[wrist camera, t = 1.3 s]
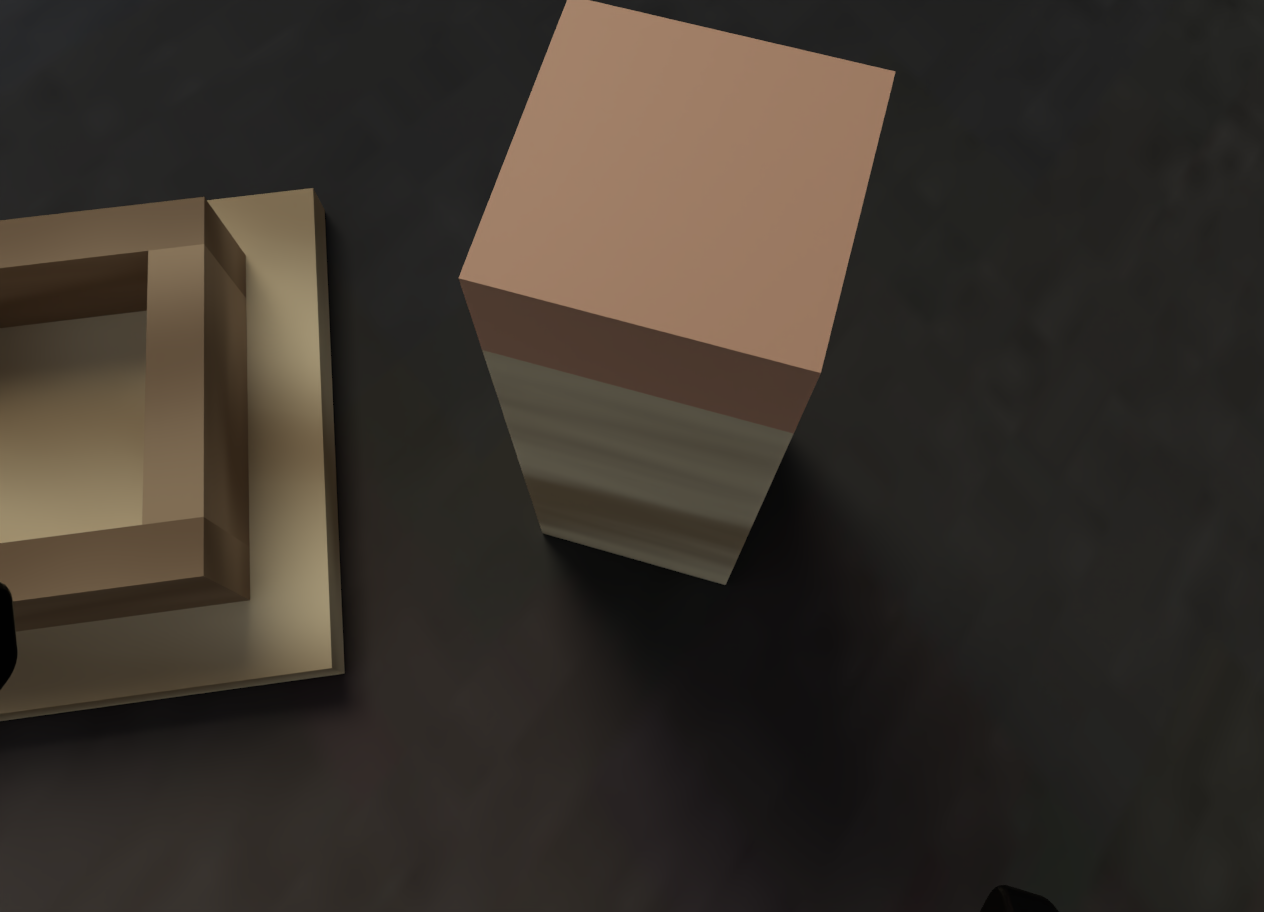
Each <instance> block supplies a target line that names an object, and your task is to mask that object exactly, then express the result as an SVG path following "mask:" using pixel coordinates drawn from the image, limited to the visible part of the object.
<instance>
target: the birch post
mask: <svg viewBox="0 0 1264 912" xmlns="http://www.w3.org/2000/svg"><path fill="white" fill-rule="evenodd" d="M894 75H895V71H890V70H886V69H882V68H877V67H873V66H869V65H865V64H860V63H856V62H852V61H847V60H843V59H839V58H835V57H830V56H826V55H822V54H817V53H813V52H809V51H804V50H800V49H796V48H792V47H787V46H783V45H779V44H774V43H770V42H766V41H762V40H757V39H753V38H749V37H744V36H740V35H736V34H731V33H727V32H723V31H719V30H714V29H710V28H706V27H701V26H697V25H693V24H688V23H684V22H680V21H676V20H671V19H667V18H663V17H658V16H654V15H650V14H646V13H641V12H637V11H633V10H628V9H624V8H620V7H615V6H611V5H607V4H603V3H598V2H594V1H590V0H567V2H566V5H565V7H564V10H563V12H562V15H561V17H560V20H559V23H558V25H557V28H556V30H555V33H554V35H553V38H552V40H551V43H550V46H549V48H548V51H547V53H546V56H545V58H544V61H543V63H542V66H541V69H540V71H539V74H538V76H537V79H536V81H535V84H534V87H533V89H532V92H531V94H530V97H529V99H528V102H527V104H526V107H525V110H524V112H523V115H522V117H521V120H520V122H519V125H518V127H517V130H516V133H515V135H514V138H513V140H512V143H511V145H510V148H509V151H508V153H507V156H506V158H505V161H504V163H503V166H502V168H501V171H500V174H499V176H498V179H497V181H496V184H495V186H494V189H493V191H492V194H491V197H490V199H489V202H488V204H487V207H486V209H485V212H484V214H483V217H482V220H481V222H480V225H479V227H478V230H477V232H476V235H475V238H474V240H473V243H472V245H471V248H470V250H469V253H468V255H467V258H466V261H465V263H464V266H463V268H462V271H461V273H460V276H459V281H460V284H461V287H462V290H463V293H464V296H465V299H466V302H467V305H468V308H469V311H470V314H471V317H472V320H473V323H474V326H475V329H476V332H477V336H478V339H479V342H480V345H481V348H482V351H483V354H484V357H485V360H486V363H487V366H488V369H489V372H490V375H491V378H492V381H493V384H494V387H495V390H496V393H497V396H498V399H499V402H500V405H501V408H502V411H503V415H504V418H505V421H506V424H507V427H508V430H509V433H510V436H511V439H512V442H513V445H514V448H515V451H516V454H517V457H518V460H519V463H520V466H521V469H522V472H523V475H524V478H525V481H526V484H527V487H528V490H529V494H530V497H531V500H532V503H533V506H534V509H535V512H536V515H537V518H538V521H539V524H540V527H541V530H542V533H544V534H547V535H551V536H554V537H558V538H561V539H565V540H568V541H572V542H575V543H579V544H582V545H586V546H589V547H593V548H596V549H600V550H603V551H607V552H610V553H614V554H617V555H621V556H625V557H628V558H632V559H635V560H639V561H642V562H646V563H649V564H653V565H656V566H660V567H663V568H667V569H670V570H674V571H677V572H681V573H684V574H688V575H691V576H695V577H699V578H702V579H706V580H709V581H713V582H716V583H720V584H723V585H726V583H727V581H728V579H729V576H730V574H731V572H732V570H733V568H734V565H735V563H736V561H737V559H738V556H739V554H740V552H741V550H742V547H743V545H744V543H745V541H746V539H747V536H748V534H749V532H750V530H751V527H752V525H753V523H754V521H755V518H756V516H757V514H758V512H759V510H760V507H761V505H762V503H763V501H764V498H765V496H766V494H767V492H768V489H769V487H770V485H771V483H772V481H773V478H774V476H775V474H776V472H777V469H778V467H779V465H780V463H781V460H782V458H783V456H784V454H785V452H786V449H787V447H788V445H789V443H790V440H791V438H792V436H793V434H794V431H795V429H796V427H797V425H798V423H799V420H800V418H801V416H802V414H803V411H804V409H805V407H806V405H807V402H808V400H809V398H810V396H811V394H812V391H813V389H814V387H815V385H816V382H817V380H818V378H819V376H820V373H821V370H822V366H823V362H824V358H825V354H826V350H827V346H828V342H829V337H830V333H831V329H832V325H833V321H834V317H835V313H836V309H837V305H838V301H839V297H840V293H841V289H842V285H843V281H844V277H845V273H846V269H847V265H848V261H849V257H850V253H851V249H852V245H853V241H854V237H855V233H856V229H857V225H858V220H859V216H860V212H861V208H862V204H863V200H864V196H865V192H866V188H867V184H868V180H869V176H870V172H871V168H872V164H873V160H874V156H875V152H876V148H877V144H878V140H879V136H880V132H881V128H882V124H883V120H884V116H885V112H886V108H887V103H888V99H889V95H890V91H891V87H892V83H893V79H894Z"/></svg>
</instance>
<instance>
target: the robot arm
mask: <svg viewBox="0 0 1264 912" xmlns="http://www.w3.org/2000/svg"><path fill="white" fill-rule="evenodd" d="M17 657H18V647H17V638H16V628H15V618H14V608H13V599H12V594H11V592H10V590H9V589H8V587H7V586H6V585H5V584H3V583H2V582H0V690H1V689H2V687H3V686H4V685H5V684H6V682H7V681H8V679H9V678H10V676H11V674H12V672H13V670H14V668H15V665H16V662H17ZM980 912H1058V910H1057V909H1056V908H1055V906H1054V905H1053V904H1052V903H1051V902H1050V901H1049V900H1048V899H1046V898H1044V897H1042V896H1040V895H1037V894H1033V893H1030V892H1027V891H1024V890H1020V889H1017V888H1014V887H1010V886H1007V885H1000V886H997V887H996V888H994V889H993V890H992V891H991V893H990V894H989V896H988V898H987V899H986V901H985V903H984V905H983V907H982V909H981V911H980Z"/></svg>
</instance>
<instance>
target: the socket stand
mask: <svg viewBox="0 0 1264 912" xmlns="http://www.w3.org/2000/svg"><path fill="white" fill-rule="evenodd" d="M0 582H2V583H3V584H5V585H6V586H7V587H8V589H9V590H10V592H11V594H12V599H13V608H14V618H15V628H16V638H17V647H18V657H17V662H16V665H15V668H14V670H13V672H12V674H11V676H10V678H9V679H8V681H7V682H6V684H5V685H4V686H3V687H2V689H1V690H0V721H5V720H13V719H20V718H27V717H34V716H42V715H49V714H56V713H63V712H71V711H78V710H85V709H92V708H99V707H107V706H114V705H121V704H128V703H136V702H143V701H150V700H157V699H165V698H172V697H179V696H186V695H193V694H201V693H208V692H215V691H222V690H230V689H237V688H244V687H251V686H259V685H266V684H273V683H280V682H287V681H295V680H302V679H309V678H316V677H324V676H331V675H338V674H345V668H344V645H343V622H342V599H341V576H340V553H339V530H338V507H337V484H336V460H335V437H334V414H333V391H332V368H331V345H330V322H329V299H328V276H327V253H326V230H325V210H324V208H323V206H322V204H321V202H320V201H319V199H318V197H317V195H316V193H315V191H314V189H313V188H310V189H302V190H293V191H284V192H276V193H267V194H259V195H250V196H241V197H233V198H224V199H215V200H206V199H205V197H200V198H191V199H183V200H174V201H165V202H157V203H148V204H139V205H131V206H122V207H113V208H105V209H96V210H88V211H79V212H70V213H62V214H53V215H44V216H36V217H27V218H18V219H10V220H1V221H0Z"/></svg>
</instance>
